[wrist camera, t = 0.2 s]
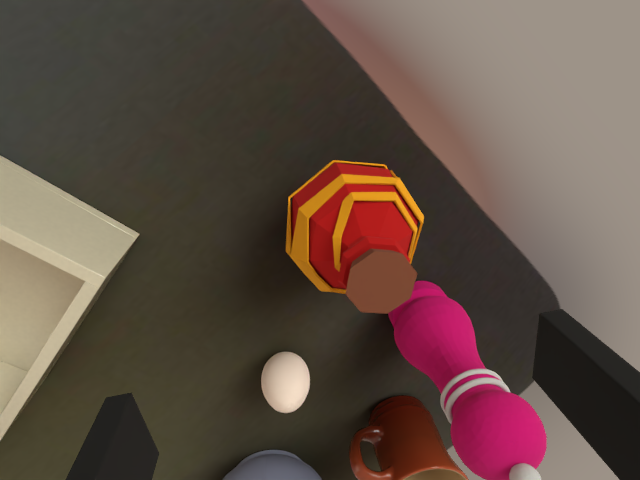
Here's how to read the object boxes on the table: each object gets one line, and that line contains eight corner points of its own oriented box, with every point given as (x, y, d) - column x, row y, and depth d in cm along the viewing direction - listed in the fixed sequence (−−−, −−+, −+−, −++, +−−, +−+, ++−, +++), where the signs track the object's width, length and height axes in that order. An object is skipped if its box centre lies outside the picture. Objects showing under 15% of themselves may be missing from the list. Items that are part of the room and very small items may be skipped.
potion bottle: (265, 162, 33) (263, 227, 19) (382, 129, 33) (461, 171, 20) (297, 266, 37) (315, 379, 24) (401, 237, 38) (477, 333, 24)
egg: (260, 341, 40) (259, 390, 34) (306, 338, 41) (313, 385, 35) (262, 377, 42) (261, 429, 36) (307, 374, 43) (313, 424, 37)
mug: (444, 395, 47) (488, 476, 37) (409, 445, 50) (442, 532, 40) (355, 371, 44) (379, 453, 34) (324, 426, 46) (338, 516, 37)
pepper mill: (428, 341, 43) (545, 539, 25) (371, 324, 41) (452, 525, 23) (461, 287, 41) (617, 462, 23) (402, 266, 39) (520, 440, 21)
